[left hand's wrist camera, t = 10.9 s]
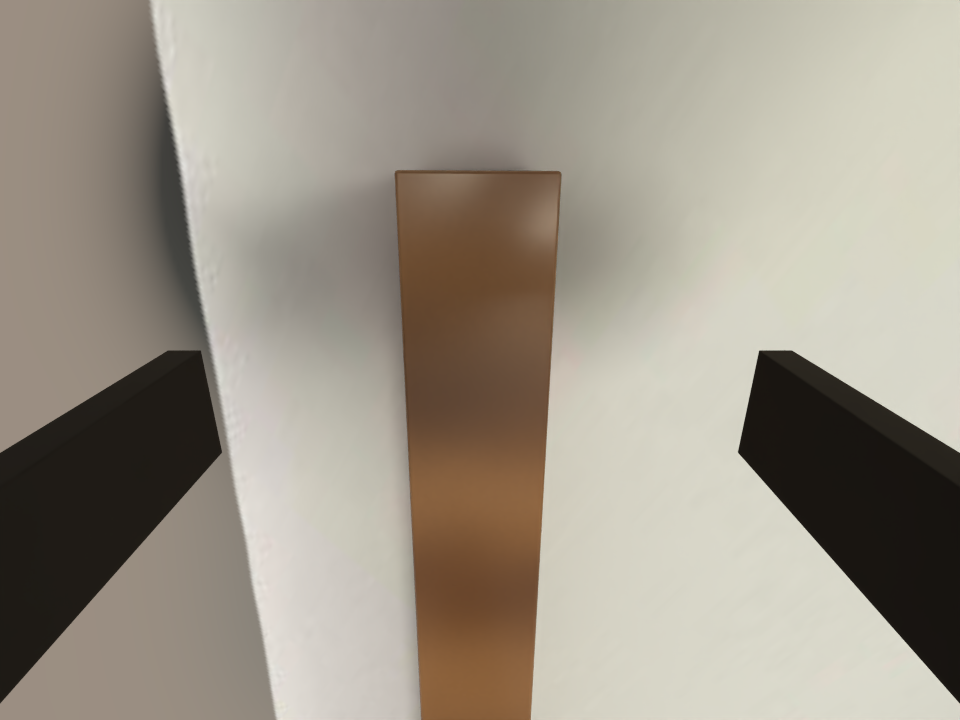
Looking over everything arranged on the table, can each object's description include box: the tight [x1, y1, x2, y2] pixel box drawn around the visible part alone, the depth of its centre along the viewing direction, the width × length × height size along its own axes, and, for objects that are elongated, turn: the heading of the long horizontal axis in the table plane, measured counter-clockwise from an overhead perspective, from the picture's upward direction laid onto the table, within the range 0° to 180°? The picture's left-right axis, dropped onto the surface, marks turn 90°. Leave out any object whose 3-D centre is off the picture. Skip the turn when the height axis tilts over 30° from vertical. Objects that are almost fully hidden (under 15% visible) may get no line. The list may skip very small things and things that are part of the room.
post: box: [395, 170, 561, 720], centre depth 28 cm, size 53×5×8 cm, turn 0°
